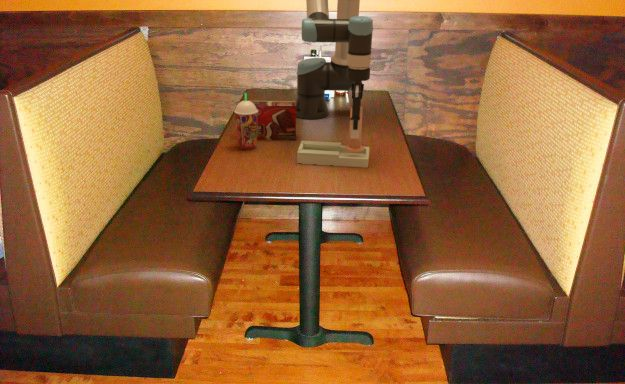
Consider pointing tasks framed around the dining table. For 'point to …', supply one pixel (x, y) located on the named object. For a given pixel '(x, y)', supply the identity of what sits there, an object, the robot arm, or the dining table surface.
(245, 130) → the smoothie
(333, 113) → the dining table surface
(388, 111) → the dining table surface
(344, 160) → the slot board
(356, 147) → the peg
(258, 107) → the ice cream box
